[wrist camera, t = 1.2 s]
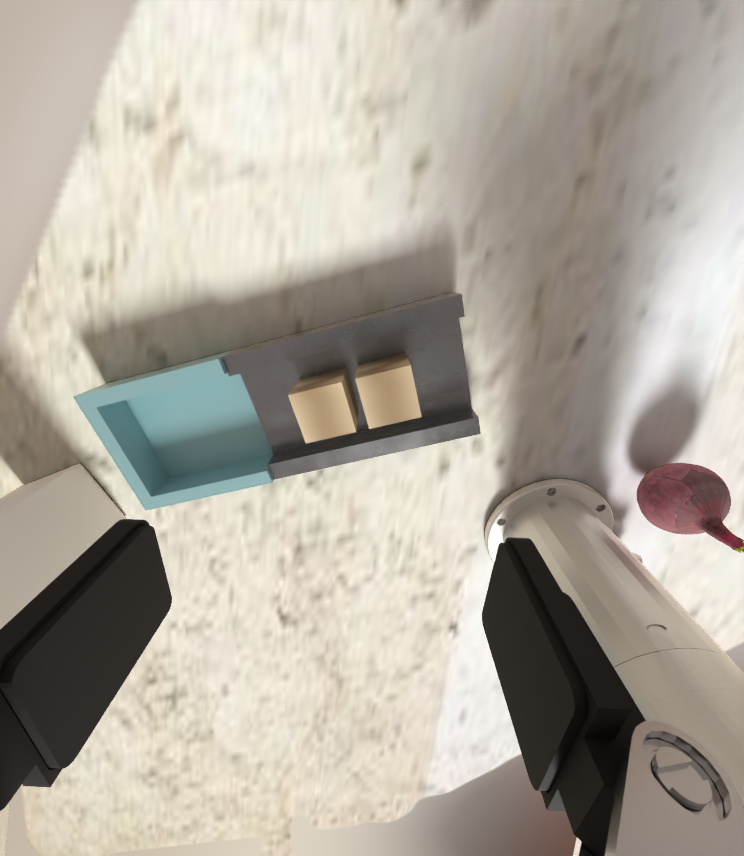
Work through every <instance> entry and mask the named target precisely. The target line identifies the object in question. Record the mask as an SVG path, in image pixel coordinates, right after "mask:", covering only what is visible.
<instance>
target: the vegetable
mask: <svg viewBox="0 0 744 856" xmlns="http://www.w3.org/2000/svg"><path fill="white" fill-rule="evenodd" d="M637 501H638V504H639V507H640V510H641V512H642V513H643V515H644V516H645V517H646V518H647V520H648V521H650V522H651V523H652V524H653V525H655V526H656V527H658V528H660V529H663V530H665V531H668V532H672V533H677V534H699V533H704V532H706V533H708V534H709V535H711V536H712V537H714V538H716V539H717V540H719V541H721V542H723V543H724V544H726V545H728V546H729V547H731V548H732V549H733V550H736V551H738V552H740V553H741V550H742V551H743V552H744V542H743V541H744V540H742V539H741V538H738V537H737V536H735V535H734V534H732V533H731V532H730V531H729V530H728V529H727V528H726V527H725V526H724V524H723V523H722V521H723V520H724V519H725V517H726V516H727V514H728V513H729V510H730V506H731V497H730V493H729V490H728V487H727V486H726V484H725V483H724V481H723V480H722V479H721V478H720V477H719V476H718V475H717V474H716V473H714V472H713V471H711V470H709V469H707V468H705V467H702V466H699V465H693V464H686V463H672V464H666V465H663V466H660V467H658V468H655V469H653V470H652V471H650V472H649V473H648V474H646V475H645V476H644V478H643V479H642V480H641V482H640V484H639V486H638V489H637Z"/></svg>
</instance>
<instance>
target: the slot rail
mask: <svg viewBox="0 0 744 856" xmlns="http://www.w3.org/2000/svg"><path fill="white" fill-rule="evenodd" d="M463 316H464V309H463V302H462V294H459V293H454V292H451V293H447V294H443V295H439V296H435V297H432V298H428V299H424V300H420V301H417V302H413V303H409V304H405V305H401V306H398V307H394V308H390V309H386V310H382V311H379V312H375V313H371V314H367V315H364V316H360V317H356V318H352V319H348V320H345V321H341V322H337V323H333V324H330V325H326V326H322V327H318V328H314V329H311V330H307V331H303V332H299V333H296V334H292V335H288V336H284V337H280V338H277V339H273V340H269V341H265V342H261V343H258V344H254V345H250V346H246V347H243V348H239V349H235V350H233V351H232V352H230V353H228V354H226V355H224V356H223V357H221V359H222V361H223V363H224V366H225V368H226V370H227V373H228V375H229V376H233V375H237V374H240V375H241V377H242V380H243V382H244V384H245V387H246V389H247V392H248V394H249V396H250V399H251V401H252V404H253V406H254V408H255V411H256V413H257V416H258V418H259V420H260V423H261V425H262V427H263V430H264V432H265V435H266V437H267V439H268V442H269V444H270V447H271V449H272V451H273V456H272V457H271V459H270V461H269V463H268V468H269V470H270V472H271V474H272V477H273V479H278V478H282V477H287V476H291V475H296V474H301V473H305V472H310V471H314V470H319V469H323V468H328V467H332V466H337V465H341V464H346V463H350V462H355V461H359V460H364V459H368V458H373V457H377V456H382V455H386V454H391V453H395V452H400V451H405V450H409V449H414V448H418V447H423V446H427V445H432V444H436V443H441V442H445V441H450V440H454V439H459V438H463V437H468V436H472V435H477V434H480V426H479V419H478V416H477V415H476V413H475V412H474V411H473V409H472V407H471V400H470V393H469V386H468V379H467V372H466V365H465V358H464V351H463V344H462V337H461V330H460V323H459V317H463ZM404 353H406V355H407V357H408V360H409V362H410V364H411V368H412V373H413V378H414V383H415V388H416V392H417V397H418V402H419V407H420V411H421V416H422V417H420V418H415V419H411V420H407V421H402V422H398V423H394V424H389V425H385V426H381V427H376V428H372V429H369V427H368V423H367V419H366V416H365V412H364V409H363V405H362V402H361V398H360V394H359V391H358V387H357V384H356V380H355V377H356V370H357V365H360V364H364V363H368V362H372V361H376V360H380V359H384V358H388V357H392V356H396V355H400V354H404ZM344 368H346V372H347V375H348V379H349V382H350V386H351V389H352V393H353V396H354V399H355V403H356V406H357V410H358V420H357V430H356V432H354V433H350V434H345V435H341V436H337V437H332V438H328V439H324V440H319V441H315V442H311V443H305V440H304V437H303V435H302V432H301V429H300V426H299V424H298V421H297V418H296V416H295V413H294V410H293V408H292V405H291V402H290V399H289V397H288V395H289V393H290V392H291V390H292V389H293V387H294V386H295V385H296V383H297V382H298V380H300V379H304V378H308V377H312V376H316V375H320V374H324V373H328V372H332V371H336V370H340V369H344Z"/></svg>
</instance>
